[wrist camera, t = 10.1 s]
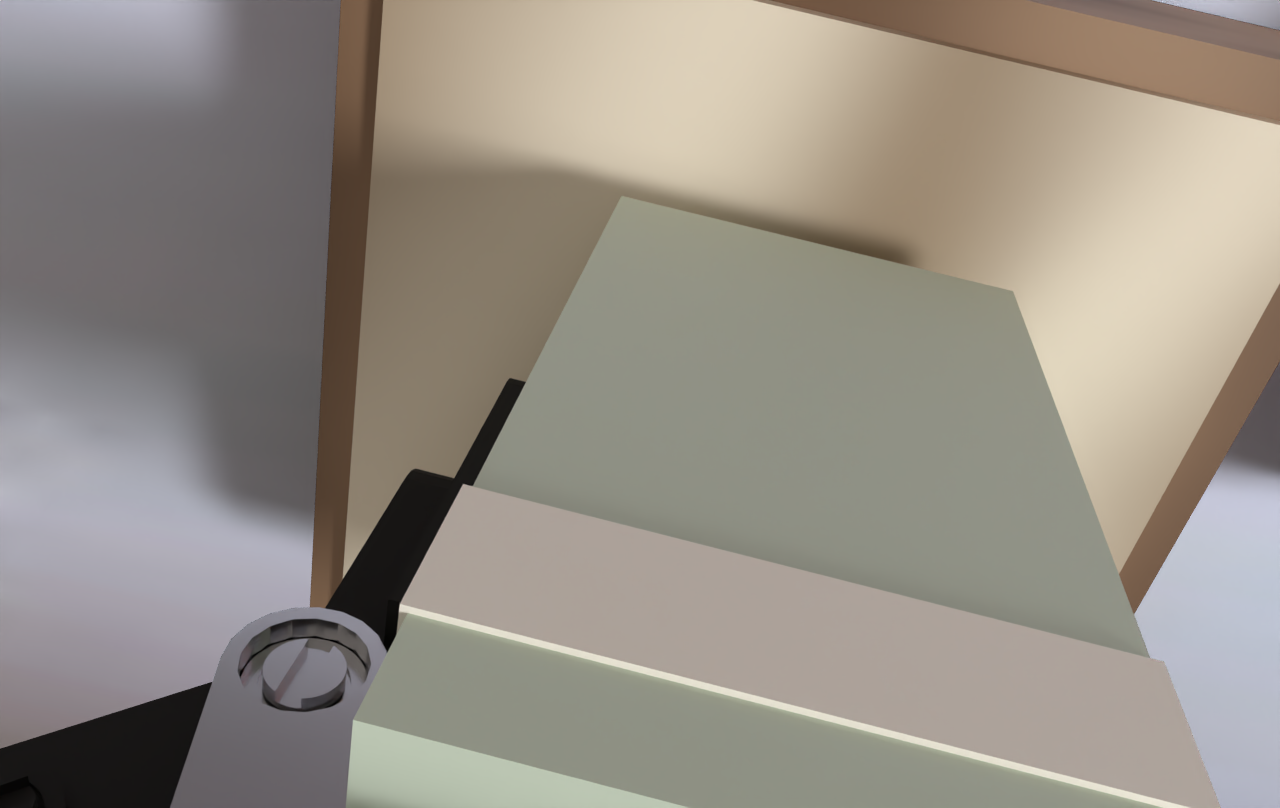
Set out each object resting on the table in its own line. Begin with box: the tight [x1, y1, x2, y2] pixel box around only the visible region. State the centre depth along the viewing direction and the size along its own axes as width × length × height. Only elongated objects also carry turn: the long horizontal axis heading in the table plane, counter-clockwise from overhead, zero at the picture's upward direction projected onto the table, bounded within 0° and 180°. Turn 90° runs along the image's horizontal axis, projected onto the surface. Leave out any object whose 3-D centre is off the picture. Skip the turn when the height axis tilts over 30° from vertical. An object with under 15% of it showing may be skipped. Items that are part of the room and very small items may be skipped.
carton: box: [346, 196, 1221, 808], centre depth 10 cm, size 5×7×8 cm
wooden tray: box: [310, 0, 1280, 614], centre depth 16 cm, size 12×12×3 cm
